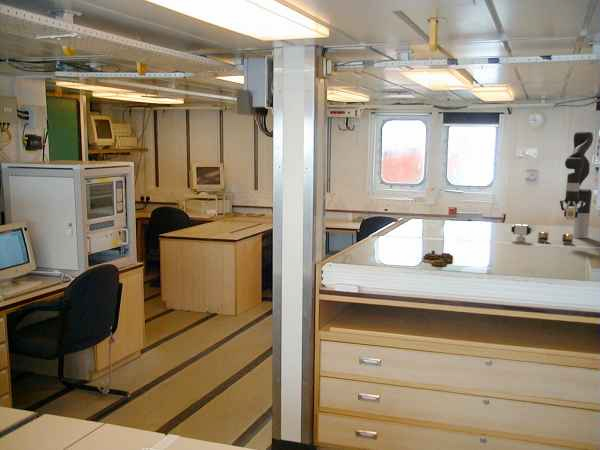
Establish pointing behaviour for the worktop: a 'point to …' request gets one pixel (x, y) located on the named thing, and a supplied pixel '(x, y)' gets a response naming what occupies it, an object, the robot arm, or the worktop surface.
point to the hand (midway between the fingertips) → (570, 217)
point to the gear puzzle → (438, 259)
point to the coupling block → (570, 214)
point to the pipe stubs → (566, 238)
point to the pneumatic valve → (521, 231)
